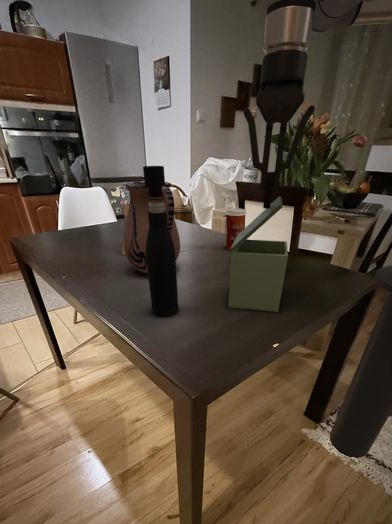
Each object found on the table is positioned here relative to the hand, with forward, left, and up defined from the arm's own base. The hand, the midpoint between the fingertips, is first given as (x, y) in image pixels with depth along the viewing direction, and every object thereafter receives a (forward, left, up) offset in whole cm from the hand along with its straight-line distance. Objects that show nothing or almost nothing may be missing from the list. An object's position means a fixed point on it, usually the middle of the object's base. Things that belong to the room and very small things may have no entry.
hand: (266, 207), depth 61 cm
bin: (0, 0, -22) cm, 22 cm away
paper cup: (+11, -45, -22) cm, 51 cm away
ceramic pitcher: (+32, -15, -22) cm, 42 cm away
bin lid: (+1, 0, -4) cm, 4 cm away
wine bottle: (+21, +11, -22) cm, 33 cm away
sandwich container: (+49, -37, -22) cm, 66 cm away
